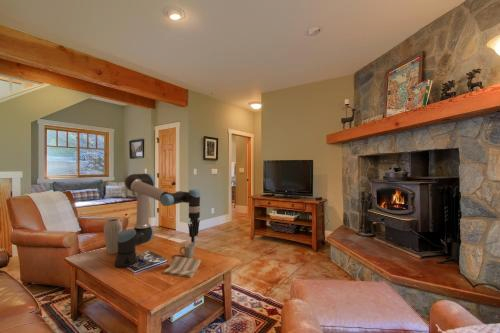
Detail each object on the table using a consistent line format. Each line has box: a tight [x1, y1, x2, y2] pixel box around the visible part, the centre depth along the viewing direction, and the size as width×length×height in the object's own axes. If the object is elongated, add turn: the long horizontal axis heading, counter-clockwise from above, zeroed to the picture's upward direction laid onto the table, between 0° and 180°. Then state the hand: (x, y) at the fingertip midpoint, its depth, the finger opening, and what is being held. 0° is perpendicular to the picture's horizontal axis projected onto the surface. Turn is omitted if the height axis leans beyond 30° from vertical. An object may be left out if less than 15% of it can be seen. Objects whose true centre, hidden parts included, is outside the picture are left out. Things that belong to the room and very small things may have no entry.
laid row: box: [162, 267, 196, 279], centre depth 161 cm, size 22×17×2 cm
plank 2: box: [182, 258, 202, 274], centre depth 162 cm, size 10×9×2 cm
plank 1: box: [168, 256, 187, 270], centre depth 165 cm, size 10×9×2 cm
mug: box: [179, 243, 196, 259], centre depth 183 cm, size 8×13×10 cm, turn 78°
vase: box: [103, 218, 123, 255], centre depth 191 cm, size 13×13×26 cm
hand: (193, 245), depth 164 cm, fingers closed
